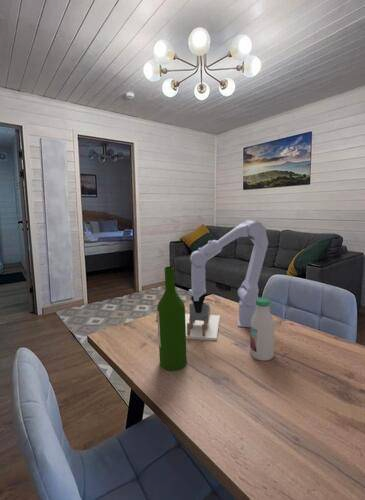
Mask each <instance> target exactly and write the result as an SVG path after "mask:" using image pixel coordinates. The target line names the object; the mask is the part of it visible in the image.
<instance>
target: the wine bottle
mask: <svg viewBox="0 0 365 500" xmlns="http://www.w3.org/2000/svg"><path fill="white" fill-rule="evenodd" d="M164 289H165V290H164V293H163V295H162V296H161V298H160V300H159V302H158V303H157V308H156V317H157V318H156V320H157V319H158V320H157V332H158V350H159V351H158V352H159V354H158V355H159V365H160V367H161V368H162V369H163V370H165V371H169V372H170V371H171V372H172V371H173V372H175V371H180V370H182V369H183V368H184V367H186V366H187V363H188V359H187V357H188V356H187V339H186V324H185V314H186V306H185V303H184V301H183V300H182V298H181V297H180V296H179V294H178V293H177V291H176V278H175V267H174V266H165V267H164Z"/></svg>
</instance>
